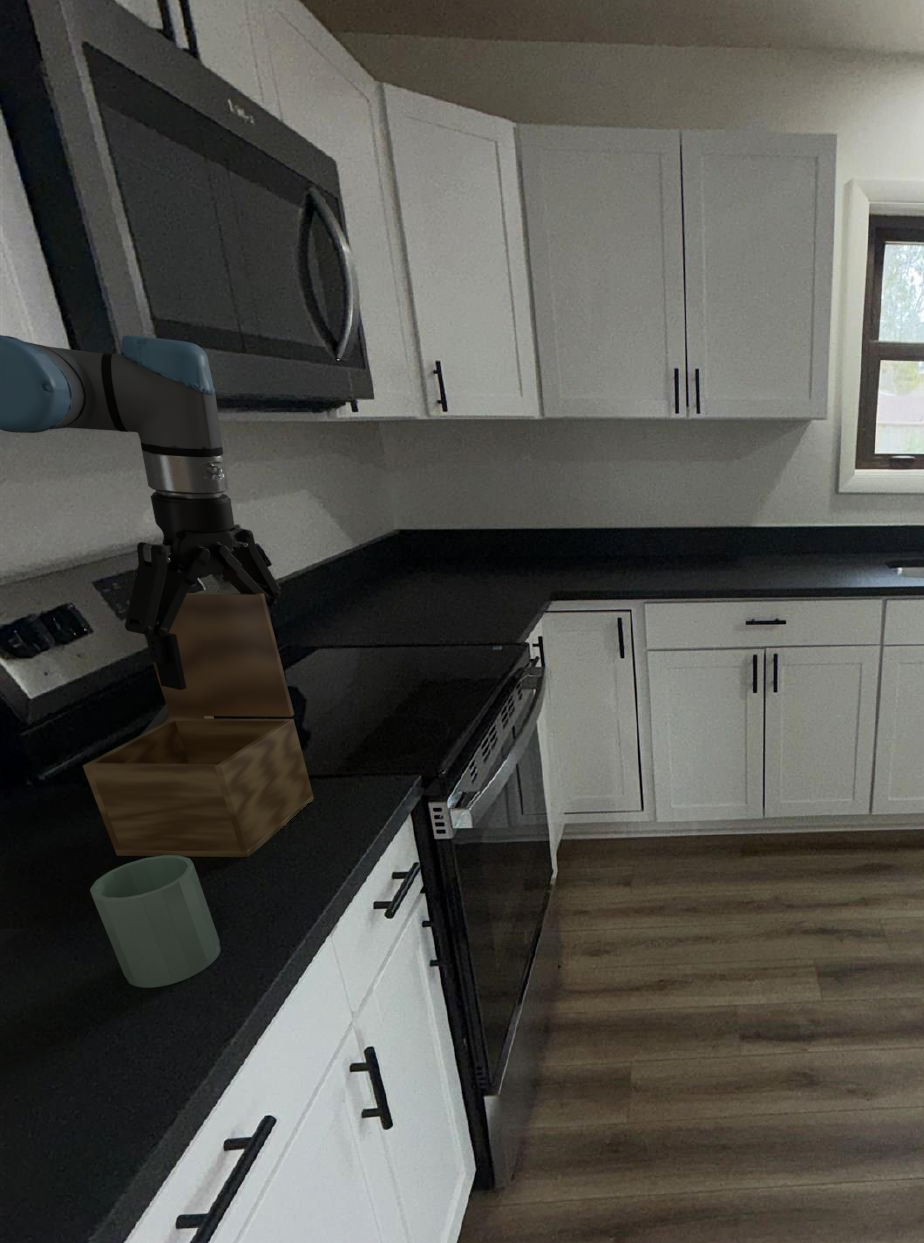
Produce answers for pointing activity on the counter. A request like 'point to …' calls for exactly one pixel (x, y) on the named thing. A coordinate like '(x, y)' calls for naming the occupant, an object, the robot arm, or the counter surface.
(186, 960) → the cup
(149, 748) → the chest
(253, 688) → the lid
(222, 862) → the counter surface
